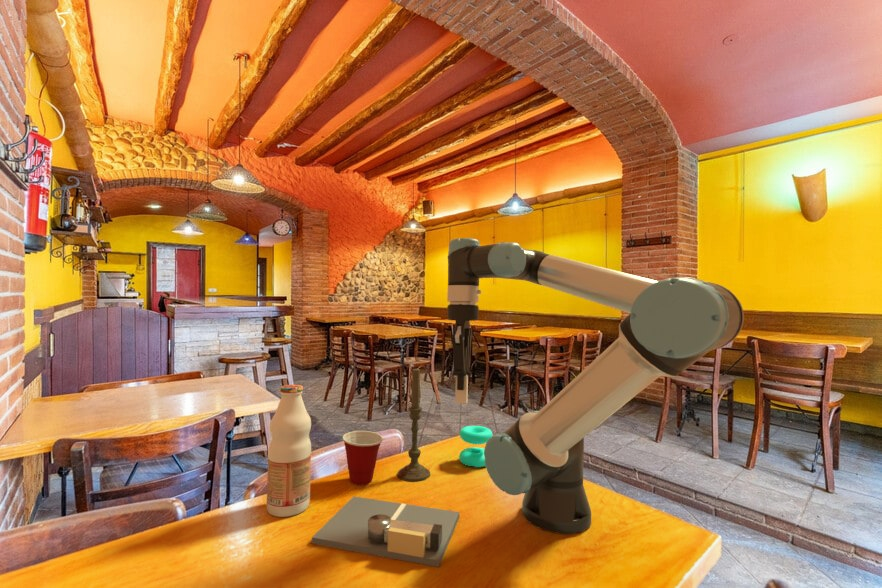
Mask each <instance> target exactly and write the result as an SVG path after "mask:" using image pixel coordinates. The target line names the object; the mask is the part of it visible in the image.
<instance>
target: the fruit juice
mask: <svg viewBox="0 0 882 588" xmlns="http://www.w3.org/2000/svg"><path fill="white" fill-rule="evenodd" d="M303 391H304V387H303V385H301V384H286V385H282V386H280V395H281V397H280V400H279V402H278V405H277V408H276V411H275V413H274V414H273V416H272V418H271V419H270V421H269V432H270V436H271V440H270V442H269V445H268V451H267V478H266V479H267V481H266V512H268V514H269V515H271V516H273V517H278V518H287V517H288V518H289V517H291V516H296V515H298V514H301V513H304V511H306V510H307V508H308V507H309V505H310V500H311V467H312V460H311V459H312V442H311V439H310V433H311V432H310V431H311V427H312V419H311V416H310V414H309V413H308V411H307V409H306V406H305V403H304V400H303V397H302V395H303Z"/></svg>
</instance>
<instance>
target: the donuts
mask: <svg viewBox="0 0 882 588" xmlns="http://www.w3.org/2000/svg"><path fill="white" fill-rule="evenodd" d="M492 436H493V432H492V430H491V429H490V428H489V427H486V426H482V425H467V426H464V427H462V428H461V429H460V430H459V437H460V438H461V440H462V441H463V442H465V443H467V444H472V445H484V444H486V443H487V441H488V440H489V439H490V438H491V437H492ZM484 449H485V448H482V447H477V446H476V447H475V446H472V447H466V448H465V449H464V448H463V450H461V451H460V453H459V456H458V459H459V461H460V462H461V464H463V465H464V464H465V465H464V466H466V465H468V466H467V467H470V466H475V467H474V468H482V467H481V466H485V456H484ZM485 467H486V466H485Z"/></svg>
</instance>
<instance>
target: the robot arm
mask: <svg viewBox="0 0 882 588" xmlns="http://www.w3.org/2000/svg"><path fill="white" fill-rule="evenodd" d="M480 279H505V280H506V279H507V280H516V281H518V280H519V281H525V282H530V283H532V284H535V285H539V286H543V287H547V288H550V289H553V290H555V291H559V292H562V293H565V294H569V295H572V296H575V297H577V298H581V299H584V300H587V301H590V302H594V303H596V304H599V305H602V306H606V307H609V308H611V309H615V310H617V311H622V312H625V313H627V314H628V315H627V316H626V317H625V318H624V319H623V320H622V321H621V322H619V325H618V332H619V333H618V338H616V339H615V340H614V341H613V342H612V343H611V344H610V345H608V347H607V348H606V349H604V351H602V353H600V354H599V355H598V356H597V357H596V358H595V359H594V360H593V361H592V362H591V363H589V364H588V365H587V366H586V367H585V368H584V369H583V370H582V371H581V372H580V373H578V375H577V376H576V377H574V378H573V379H572V380H571V381H570V382H569V383H568V384H567V385H566V386H564V387H563V388H562V390H560V391H559V392H558V393H557V394H556V395H555V396H554V397H553V398H552V399H551V400H549V401H548V402H547V403H546V404H545V405H544V406H543V407H542V408H541V409H540V410H534V411H532V412H530V411H529V412H526V413H524V414H523V415H522V416H521V417H519V418H518V419H517V420H516V421H515V422H514V423H513V424H512V425H511V426H510V427H509V428H507V429H506V430H504V431H503V432H497V433H494V435H492V437H491V438H490V439H489V440H488V441H487V443H485V446H484V448H483V449H484V456H485V469H486V471H487V474H488V476H489V478H490V479H491V481H492V482H493V483H494V485H495V486H496V487H497V488H498V489H499V490H501V491H502V492H505V493H506V494H507V495H511V496H518V495H521V494H524V496H523V499H522V504H521V507H522V508H521V509H522V511H521V512H522V516H523V517H524V519H525V520H526V521H527V522H529V524H531V525H532V526H534V527H537V528H539V529H542V530H544V531H547V532H551V533H555V534H567V535H568V534H577V533H581V532H584V531H587V530H588V529H589V528H590V527H591V524H592V510H591V506H590V504H589V499H588V497H587V493H586V489H585V486H584V461H585V460H584V458H585V457H584V454H585V453H584V452H585V451H584V450H585V449H584V447H585V444H584V443H585V442H584V441H585V437H586V436H588V435H589V434H590V433H591V432H592V431H594V430H595V429H596V428H597V427H599V426H600V425H601V424H602V423H604V422H605V421H607V420H608V419H609V417H611V416H612V415H614V413H616V412H617V411H619V410H620V409H621V408H623V406H625V405H626V404H627V403H628V402H630V401H631V400H632V399H633V398H635V397H636V396H637V395H638V394H640V393H641V392H642V391H644V390H645V389H646V388H647V387H648V386H650V384H653V382H655V381H656V380H657V379H659V378H660V377H667V378H676V377H678V376H679V375H681V374H682V373H684V371H686V370H688V368H689V367H692V365H694V364H695V363H696V362H697V361H698V360H700V359H701V358H702V357H703V356H705V355H706V354H707V353H709V352H711V351H713V350H718V349H721V348H723V347H725V346H727V345H729V344H730V343H731V342H733V341H734V340H735V339H736V338H737V337H738V336H739V334H740V333H741V331H742V328H743V326H744V322H745V314H744V309H743V306H742V303H741V302H740V300H739V299H738V297H737V296H736V295H735V294H734V293H733V292H732V291H731V290H730V289H728V288H726V287H725V286H722V285H720V284H718V283H714V282H709V281H704V280H702V279H699V278H695V277H689V276H675V277H669V278H665V279H661V280H654V279H651V278H648V277H647V278H646V277H642V276H639V275H635V274H631V273H627V272H623V271H619V270H615V269H611V268H607V267H602V266H597V265H594V264H591V263H586V262H582V261H578V260H574V259H570V258H565V257H562V256H557V255H555V254H548V253H545V252H543V251H540V250H536V249H534V250H533V249H526V248H523V247H521V246H520V244H519V243H517V242H513V241H512V242H504V241H503V242H497V243H493V244H486V245H481V244H480V241H479V240H478V239H477V238H470V237H463V238H462V237H461V238H460V237H459V238H453V239H451V240H450V242H449V244H448V254H447V294H446V295H447V297H446V299H447V300H446V301H447V302H448V303H449V304H448V305H447V307H446V308H447V309H446V313H447V314H446V317H447V320H449V321H455V324H454V327H453V328H452V334H451V343H452V363H453V364H452V365H453V372H452V373H451V375H452V376H455V384H454V385H455V389H454V391H455V393H454V401H455V402H454V403H455V404H460V405H461V404H464V405H465V404H468V401H469V400H468V397H469V395H468V394H469V393H468V391H469V385H468V384H469V375H472V371H470V370H471V367H470V366H471V349H472V339H473V338H472V336H473V328H472V327H471V325H470V324H471V323H470V321H471V322H472V321H473V322H474V321H478V320H479V311H480V310H479V309H480V306H479V305H478V304H477V303H479V301H480V300H479V297H480V295H481V294H482V290H480V289H479V288H480V287H479V286H480Z"/></svg>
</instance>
